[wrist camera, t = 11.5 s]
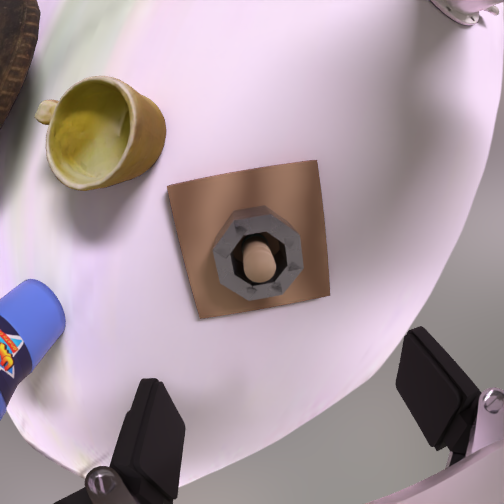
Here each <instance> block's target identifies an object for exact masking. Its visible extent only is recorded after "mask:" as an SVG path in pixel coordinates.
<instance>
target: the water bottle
mask: <svg viewBox="0 0 504 504" xmlns="http://www.w3.org/2000/svg"><path fill="white" fill-rule="evenodd" d="M65 322H66V321H65V314H64V311H63V308H62V306H61V304H60V302H59V300H58V298H57V297H56V296H55V294H54V293H53V292H52V291H51V290H50V289H49V288H48V287H47V286H46V285H45V284H43V283H42V282H40V281H38V280H34V279H28V280H25V281H24V282H22V283H21V284H19V285H18V286H17V287H15V288H14V289H13V290H11V291H10V292H9V293H8V294H6V295H5V296H4V297H2V298H1V299H0V420H1V419H2V417H3V415H4V414H5V413H6V407H7V405H8V403H9V401H10V399H11V397H12V395H13V393H14V391H15V389H16V387H17V385H18V384H19V383H20V382H21V381H22V380H23V379H24V378H25V377H26V376H27V375H29V374H30V373H31V372H32V371H33V370H34V368H35V367H36V366H37V364H38V363H39V362H40V361H41V359H42V358H43V357H44V355H45V354H46V353H47V352H48V350H49V349H50V348H51V346H52V345H53V344H54V343H55V341H56V340H57V339H58V338H59V337H60V335H61V334H62V333H63V331H64V329H65Z"/></svg>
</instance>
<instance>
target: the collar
mask: <svg viewBox="0 0 504 504" xmlns="http://www.w3.org/2000/svg"><path fill="white" fill-rule="evenodd" d="M266 231H267V232H268V233H269V234H271V235H272V236H274V237H275V238H277V239H278V241H279V248H280V249H279V250H278V252H277V253H276V254H275V256H274V257H273V258H274V261H275V264H276V271H275V273H274V275H273V276H272V278H270V279H269V280H268V281H265V282H261V283H258V282H254V281H251V280H250V279H249V278H248V277H247V276H246V274H245V272H244V263H243V262H241V261H240V260H238V259H237V258H235V257H234V253H233V249H234V248H235V246H236V245H237V244H238V242H239V241H240V239H241V238H242V237H243V235H249V234H255V233H261V232H266ZM213 254H214V259H215V263H216V268H217V272H218V277H219V281H220V284H222V285H224V286H225V287H227V288H228V289H230V290H232V291H233V292H235V293H237V294H238V295H240V296H242V297H243V298H245V299H246V300H248V301H251V300H257V299H262V298H268V297H274V296H279V295H283V294H284V292H285V291H286V290H287V289H288V287H289V286H290V285H291V284H292V283H293V281H294V280H295V279H296V278H297V276H298V275H299V274H300V273H301V271H302V270H303V269H304V267H303V257H302V248H301V239H300V235H299V233H298V232H297V231H296V230H295V229H294V227H293V226H292V225H291V224H290V223H289V222H288V221H286V220H285V219H284V218H282V217H281V216H279V215H278V214H277V213H275V212H274V211H272V210H271V209H270V208H268V207H267V206H265V205H263V206H257V207H252V208H246V209H240V210H234V211H233V212H232V214H231V215H230V217H229V218H228V219H227V221H226V222H225V224H224V225H223V227H222V228H221V229H220V231H219V232H218V234H217V235H216V238H215V243H214V247H213Z"/></svg>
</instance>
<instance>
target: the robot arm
mask: <svg viewBox="0 0 504 504" xmlns="http://www.w3.org/2000/svg"><path fill="white" fill-rule="evenodd" d="M431 1H432V2H433V3H434V4H435V5H436V6H437V7H438V8H439V9H440V10H441V11H442V12H443V13H445V14H446V15H447V16H448V17H450V18H451V19H453V20H454V21H456V22H458V23H460V24H463V25H472V24H475V23H477V21H478V20H479V11H481V10H484V11H488V12H490V13H492V14H493V15H498V14H499V10H498V8H497V7H496V6H494V5H496V4H498V3H501V2H504V0H431ZM396 388H397V390H398V392H399V393H400V395H401V397H402V398H403V400H404V402H405V403H406V405H407V407H408V408H409V410H410V412H411V414H412V415H413V417H414V419H415V420H416V422H417V424H418V426H419V427H420V429H421V431H422V432H423V434H424V436H425V438H426V439H427V441H428V443H429V445H430V446H431V447H435V449H436V451H438V450H440V449H442V448H444V447H446V446H447V447H448V448H449V450H450V453H449V457H448V461H447V464H446V468H445V470H442V471H441V472H439V473H437V474H435V475H433V476H431V477H429V478H427V479H425V480H423V481H421V482H418V483H416V484H414V485H412V486H409V487H407V488H405V489H403V490H400V491H398V492H395V493H393V494H390V495H388V496H385V497H382V498H380V499H377V500H374V501H371V502H368V503H365V504H504V390H502V389H500V388H496V387H495V388H488V389H486V390H485V391H483V392H482V393H481V392H480V391H479V389H478V388H477V386H476V385H475V384H474V383H473V382H472V380H471V379H470V378H469V377H468V376H467V375H466V373H465V372H464V371H463V370H462V369H461V368H460V367H459V366H458V364H457V363H456V362H455V361H454V360H453V359H452V358H451V357H450V355H449V354H448V353H447V352H446V351H445V350H444V349H443V348H442V347H441V346H440V344H439V343H438V342H437V341H436V340H435V339H434V338H433V337H432V336H431V335H430V334H429V333H428V332H427V330H426V329H425V328H423V327H422V326H420V327H417V328H414V329H411V330H409V331H408V332H407V335H405V336H404V341H403V347H402V353H401V358H400V363H399V369H398V373H397V378H396ZM184 437H185V424H184V422H183V420H182V418H181V416H180V414H179V413H178V411H177V409H176V407H175V405H174V403H173V402H172V400H171V398H170V396H169V394H168V392H167V390H166V388H165V386H164V384H163V382H159V381H158V379H156V378H149V379H141V381H140V384H139V386H138V389H137V392H136V395H135V398H134V401H133V404H132V407H131V410H130V411H128V412H127V414H126V416H125V419H124V422H123V425H122V428H121V431H120V434H119V437H118V441H117V444H116V447H115V450H114V453H113V457H112V460H111V463H110V467H107V466H99V467H96V468H94V469H92V470H91V471H90V472H89V473H88V474H87V476H86V478H85V487H84V488H83V489H81V490H79V491H77V492H75V493H73V494H71V495H69V496H67V497H65V498H63V499H61V500H59V501H57V502H55V503H54V504H173V499H176V498H177V495H178V486H179V477H180V468H181V460H182V452H183V444H184Z"/></svg>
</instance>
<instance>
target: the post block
mask: <svg viewBox="0 0 504 504" xmlns="http://www.w3.org/2000/svg"><path fill="white" fill-rule="evenodd" d="M167 190H168V195H169V199H170V204H171V208H172V213H173V217H174V222H175V226H176V230H177V235H178V239H179V243H180V247H181V251H182V255H183V259H184V263H185V267H186V270H187V274H188V278H189V282H190V285H191V289H192V293H193V296H194V300H195V303H196V307H197V310H198V314H199V317H200V319H202V318H209V317H216V316H222V315H229V314H235V313H241V312H247V311H253V310H258V309H264V308H270V307H275V306H280V305H286V304H291V303H296V302H301V301H306V300H311V299H316V298H320V297H325V296H330V285H329V269H328V255H327V243H326V232H325V222H324V212H323V203H322V194H321V186H320V178H319V171H318V164H317V160H310V161H302V162H294V163H287V164H280V165H273V166H267V167H260V168H254V169H248V170H242V171H236V172H231V173H225V174H220V175H215V176H210V177H205V178H200V179H195V180H190V181H186V182H181V183H177V184H172V185H169V186H167ZM263 205H265V206H267V207H268V208H270V209H271V210H272V211H274V212H275V213H277V214H278V215H279V216H281V217H282V218H284V219H285V220H286V221H288V222H289V223H290V224H291V225H292V226H293V227H294V229H295V230H296V231H297V232H298V233H299V235H300V239H301V248H302V257H303V267H304V269H303V270H302V271H301V273H300V274H299V275H298V276H297V278H296V279H295V280H294V281H293V283H292V284H291V285H290V286H289V287H288V289H287V290H286V291H285V292H284V294H283V295H279V296H274V297H268V298H262V299H257V300H251V301H248V300H246V299H245V298H243V297H242V296H240V295H238V294H237V293H235V292H233V291H232V290H230V289H228V288H227V287H225V286H224V285H222V284H220V281H219V277H218V272H217V268H216V263H215V259H214V254H213V247H214V243H215V238H216V235H217V234H218V232H219V231H220V229H221V228H222V227H223V225H224V224H225V222H226V221H227V219H228V218H229V217H230V215H231V214H232V212H233V211H234V210H240V209H246V208H252V207H257V206H263ZM279 249H280V248H279V241H278V239H277V238H275V237H274V236H272V235H271V234H269V233H268V232H267V231H266V232H261V233H255V234H249V235H243V237H242V238H241V239H240V241H239V242H238V244H237V245H236V246H235V248H234V249H233V253H234V257H235V258H237V259H238V260H240V261H241V262H243V263H244V272H245V274H246V276H247V277H248V278H249V279H250V280H251V281H254V282H258V283H261V282H265V281H268V280H269V279H270V278H272V276H273V275H274V273H275V271H276V264H275V261H274V258H273V257H274V256H275V254H276V253H277V252H278V250H279Z"/></svg>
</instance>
